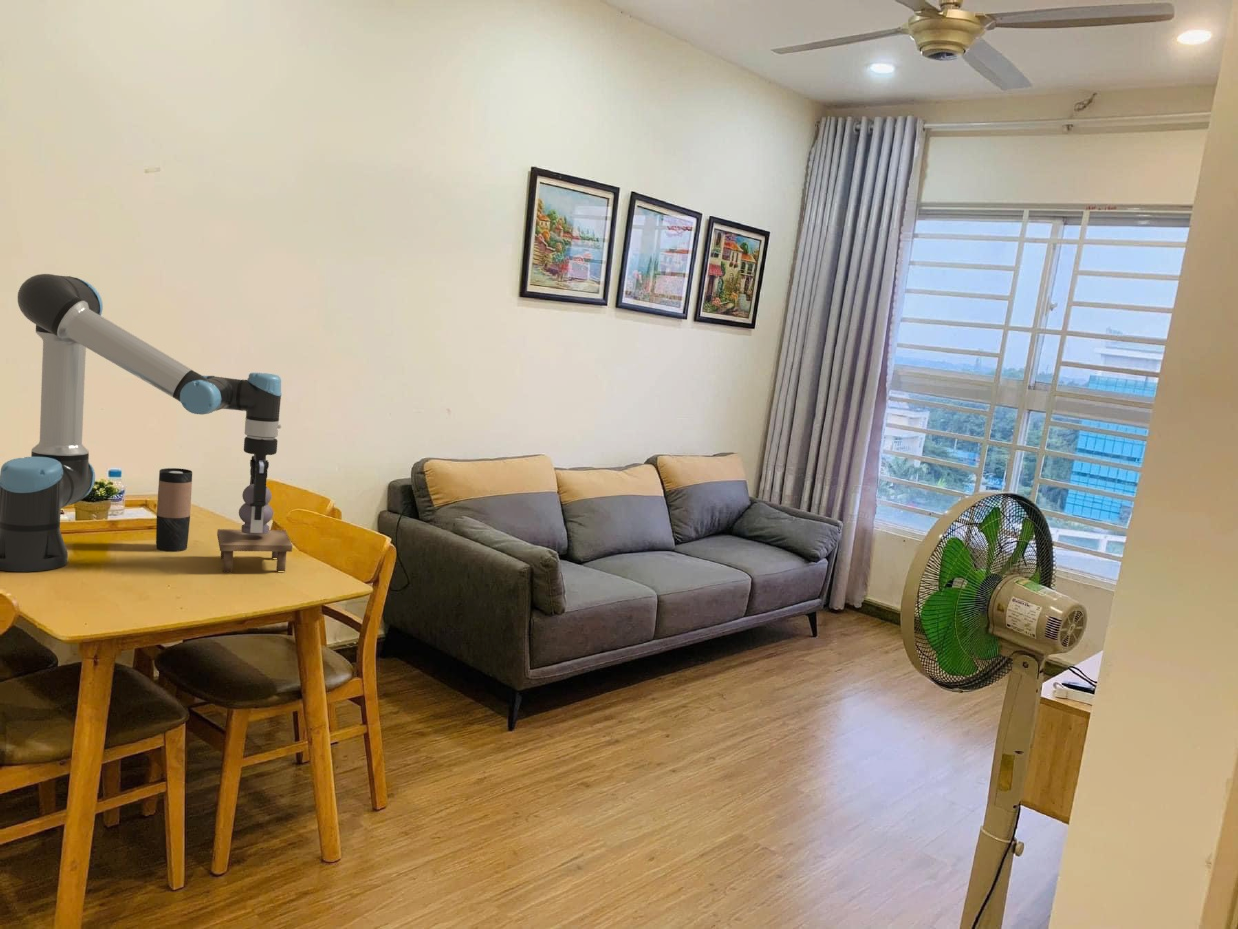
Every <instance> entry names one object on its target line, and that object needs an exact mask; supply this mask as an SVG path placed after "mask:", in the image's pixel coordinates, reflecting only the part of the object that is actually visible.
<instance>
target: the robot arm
mask: <svg viewBox="0 0 1238 929" xmlns="http://www.w3.org/2000/svg"><path fill="white" fill-rule="evenodd" d="M18 289H19V290H18V292H17V304H18V308H19V309H20V311H21V313H22V315H24V317H25V318H26V319H27V320H28V321H30V322H31V323H33V324H34V325H35V333H36V334H37V335H38V337H40V338H41V340H42V362H41V363H42V365H41V366H42V367H41V392H40V393H41V394H40V395H41V396H40V423H39V424H40V425H39V426H40V427H39V442H38V443H37V444H36V445H35V446H33V447H32V448H31V455H30V456H24V457H18V458H13V459H9V460H8V461H6V462H4V463H3V464H2V466H1V468H0V571H4V572H5V571H6V572H16V573H17V572H18V573H20V572H23V573H24V572H26V573H27V572H29V573H30V572H41V571H44V572H45V571H50V570H54V569H58V568H61V567H64V566H66V565H67V564H68V559H69V557H68V555H69V554H68V549H67V548H66V547H67V546H66V544H65V541H64V538H63V535H62V533H61V514H62V513H61V510H62V508H65V507H67V506H72V505H74V504H76V503H78V502H81V501H82V500H83V499H84V498H86V497H87V496H88V495H89V494H90V493H91V491H92V489H93V488H94V486H95V484H96V483H95V482H96V473H95V469H94V466H93V465H92V464H90V462H89V459H90V458H89V457H90V452H89V450H88V449H87V448H86V447H85V446H84V444H83V425H84V422H83V421H84V405H85V404H84V402H85V401H84V400H85V398H84V397H85V396H84V395H85V380H86V379H85V378H86V376H85V375H86V373H85V372H86V352H87V351H86V350H87V349H88V350H90V351H92V352H93V353H95V354H97V355H98V356H100V357H102V358H104V359H106V361H109V362H111V363H112V364H114V365H116V366H118V367H119V368H121V369H123V370H125V371H126V372H128V373H129V374H131V375H133V376H135V377H136V378H139V379H140V380H141V381H144V382H146V383H147V384H148V385H150V386H152V387H154V388H156V389H157V390H159V391H161V392H162V393H164V394H166V395H168V396H169V397H172V398H173V399H174V400H176V401H178V402H179V403H181V405H182V407H183V408H184V409H185V410H186V411H187V412H189V413H191V414H193V415H208V414H211V413H213V412H218V411H219V410H232V411H239V412H240V411H242V412H245V421H244V422H245V423H244V435H245V437H244V441H243V451H244V453H246V454H249V455H251V459H249V461H250V462H249V464H250V469H249V473H250V479H249V485H251V484H254V491H253V503H250V506H252V513H251V527H250V533H262V531H263V517H264V506H265V504H266V502H265V497H266V487H267V480H268V469H269V466H270V465H269V464H270V463H269V460H267V456H273V455H277V451H278V439H277V437H278V436H279V430H278V429H281V428H282V425H281V424H279V422H280V409H281V400H282V379H281V377H280V376H279V375H278V374H274V373H266V372H250V373H249V374H248V378H247V379H237V378H231V377H230V378H229V377H222V376H215V375H202V374H200V373H198V372H196V371H194V370H193V369H192V368H190V367H188V366H187V365H184V364H183V363H181V362H179V361H178V360H176V359H174V358H173V357H171V355H168V354H166V353H164V352H163V351H161V350H159V349H157V348H156V347H154V346H152V345H151V344H149V343H147V342H146V341H144V340H143V339H142V338H141V339H140V338H139V337H137V336H136V335H134V334H132V333H130V332H129V331H128V330H125V329H124V328H122V327H120V326H118V325H117V324H115V323H114V322H112V321H110V320H108V318H105V317H103V316H102V314H103V310H104V309H103V308H104V306H103V300H102V297H101V295H100V293H99V292H98V290H97V289H96V288H95V287H94V286H93V285H92V284H91V283H89V282H88V281H85V280H83V279H80V278H79V277H74V276H71V275H69V276H68V275H56V274H51V273H41V274H36V275H33V276H30V277H29V278H27V279H26V280H24V282H23V283H22V284H21V286H20V287H19V288H18ZM257 500H262V501H257Z"/></svg>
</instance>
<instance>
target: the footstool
mask: <svg viewBox="0 0 1238 929" xmlns="http://www.w3.org/2000/svg"><path fill="white" fill-rule="evenodd" d="M216 536H217V542H218V547H219V551H220V560H223V561H222V562H223V564H222V573H224V574H225V573H227V574H229V573H232V572H233V564H234V562H233V560H234V559H233V558H234V552H271V559H272V558H277V560H276V571H285V572H286V564H287V553H288V552H293V544H292V541H291V540H290V537H289V535H288V534H287V531H286V529H285V530H283V529H280V530H278V529H277V530H276V529H269V533H267V534H260V535H255V534H246V533H243V532H242V531H241V529H234V528H233V529H230V528H228V529H227V528H225V529H220V528H219V529H217V532H216Z"/></svg>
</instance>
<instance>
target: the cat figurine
mask: <svg viewBox="0 0 1238 929" xmlns="http://www.w3.org/2000/svg"><path fill="white" fill-rule="evenodd" d="M253 491H254V484H251V485H250V484H249V485H247V486H246V487H245V488H244V490H243V492H242V496H241V497H242V499H243V502H244V503H243V504H242V505H241V506H240V507H239V510H238V515H239V518H240V520H241V521H242V522H243V523H244V524H242V525H241V529H240V530H241V531H242V532H243V533H246V534H255V535H260V534H267V533H269V530H270V526H269V525H267V524H268V523H269V522H270V521H271V520H272V519H273V517H274V510H273V508H272V507H271V505H270V502H271V500H272V492H271V490H270V488H269V487H268V486H266V497H265V502H266V504H265V506H264V517H263V531H262V533H250V527H251V513H252V506H250V503H253ZM257 501H262V500H257Z"/></svg>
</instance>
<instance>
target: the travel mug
mask: <svg viewBox="0 0 1238 929" xmlns="http://www.w3.org/2000/svg"><path fill="white" fill-rule="evenodd" d="M158 475H159V476H158V487H157V500H156V502H157V504H156V520H155V521H156V522H155V523H156V526H155V527H156V528H155V530H156V531H155V532H156V533H155V538H156V539H155V548H156V550H158V551H161V552H171V553H172V552H183V551H185V550H187V549H188V544H189V543H188V541H189V532H190V523H191V512H192V511H191V506H192V505H191V504H192V490H193V489H192V488H193V486H192V485H193V471H192V470H191V469H188V468H187V469H186V468H180V467H179V468H175V467H174V468H173V467H170V468H169V467H168V468H161V469H159V474H158Z"/></svg>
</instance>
